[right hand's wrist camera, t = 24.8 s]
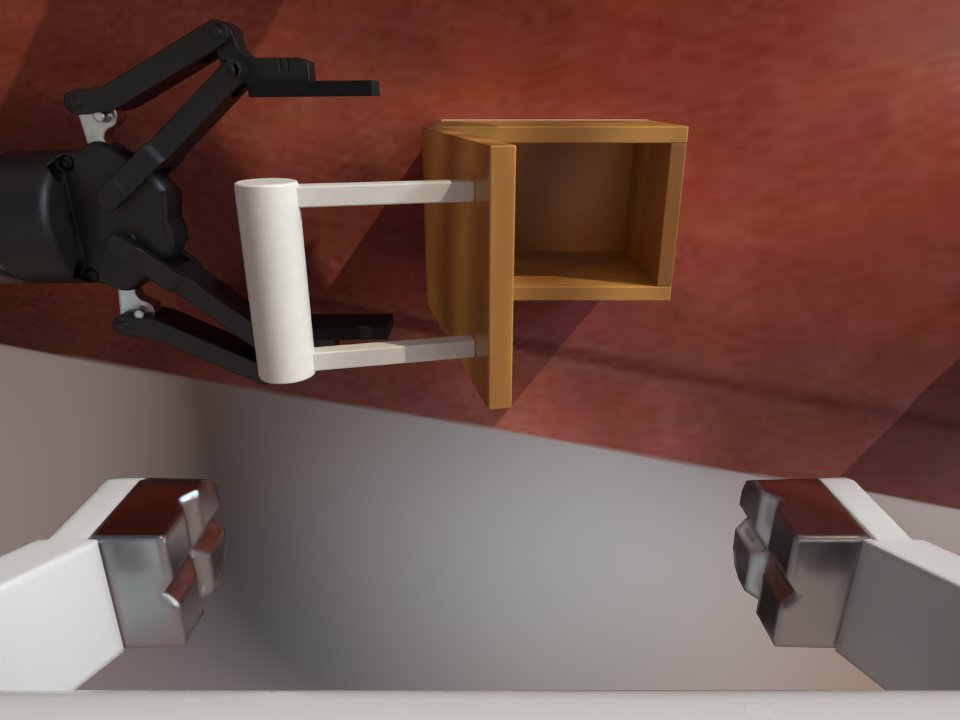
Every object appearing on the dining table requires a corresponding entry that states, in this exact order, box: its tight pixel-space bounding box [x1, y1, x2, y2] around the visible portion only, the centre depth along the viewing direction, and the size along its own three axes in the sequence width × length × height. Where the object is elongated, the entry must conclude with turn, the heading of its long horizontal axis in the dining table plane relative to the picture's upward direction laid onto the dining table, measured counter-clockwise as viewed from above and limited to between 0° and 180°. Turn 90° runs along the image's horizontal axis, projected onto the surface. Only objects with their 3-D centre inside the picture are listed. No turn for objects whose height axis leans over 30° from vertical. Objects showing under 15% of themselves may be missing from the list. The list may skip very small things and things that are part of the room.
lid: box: [234, 127, 516, 410], centre depth 28 cm, size 14×9×9 cm
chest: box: [432, 120, 688, 301], centre depth 41 cm, size 13×9×10 cm
